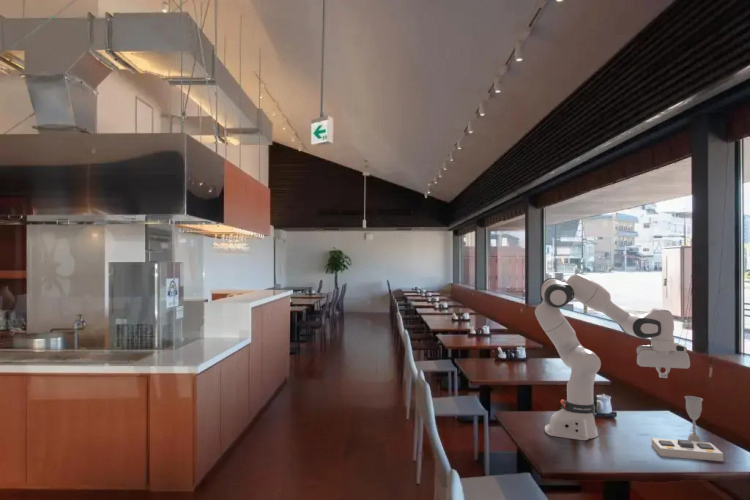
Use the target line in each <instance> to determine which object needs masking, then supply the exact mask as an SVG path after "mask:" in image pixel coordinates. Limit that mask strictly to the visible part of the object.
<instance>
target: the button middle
mask: <svg viewBox="0 0 750 500" xmlns="http://www.w3.org/2000/svg"><path fill="white" fill-rule="evenodd" d="M677 440H678V445H679V446H680V447H686V448H694V444H693V443H692V442H691V440H688V439H680V438H679V439H677Z"/></svg>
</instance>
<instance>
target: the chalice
mask: <svg viewBox="0 0 750 500" xmlns="http://www.w3.org/2000/svg"><path fill="white" fill-rule="evenodd" d="M684 399H685V410H686V412H687V415H688V416H689V418H690V419H691V420H692V423H691V424H692V427H691V429H692V433H689V435H688V437H687V440H690V441H695V442H702V440H701V437H700V435H699V434H698V433H697V432H696V430H697V428H696V426H697V423H696V421H697V420H698V419H699V418H700V416H701V413H702V411H703V406H702V405H703V401H704V399H703V398H702V397H698V396H694V395H684Z"/></svg>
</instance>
